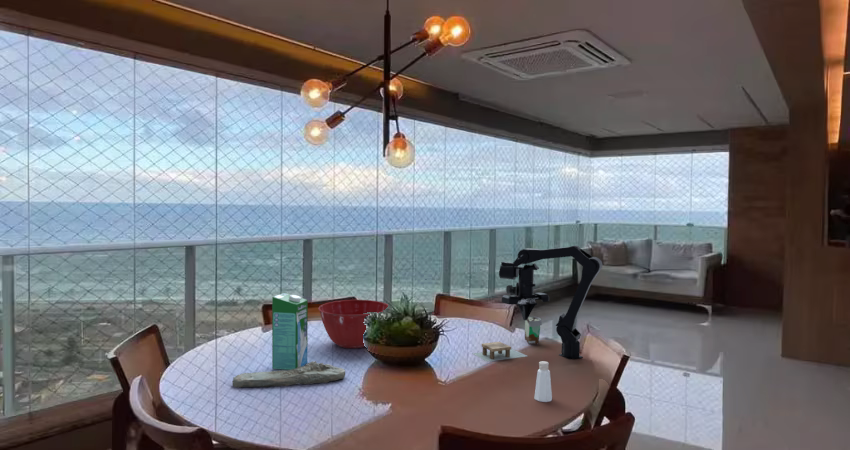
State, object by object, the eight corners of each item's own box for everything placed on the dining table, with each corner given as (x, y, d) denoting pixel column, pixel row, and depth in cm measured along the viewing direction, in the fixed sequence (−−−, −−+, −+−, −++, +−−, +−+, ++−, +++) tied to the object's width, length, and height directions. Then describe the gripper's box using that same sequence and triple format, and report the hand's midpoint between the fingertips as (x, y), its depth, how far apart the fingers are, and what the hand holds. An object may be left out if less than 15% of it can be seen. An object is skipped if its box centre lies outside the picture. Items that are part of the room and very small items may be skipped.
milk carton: (296, 370, 182) (296, 297, 180) (272, 368, 183) (272, 296, 182) (307, 362, 190) (307, 293, 189) (284, 361, 192) (284, 292, 191)
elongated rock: (234, 384, 172) (231, 397, 162) (233, 368, 171) (230, 380, 162) (344, 371, 180) (347, 383, 171) (343, 356, 180) (346, 367, 170)
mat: (528, 357, 201) (528, 356, 201) (486, 362, 193) (486, 361, 193) (511, 349, 211) (511, 348, 211) (471, 354, 203) (471, 353, 203)
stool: (511, 346, 199) (492, 349, 195) (511, 357, 199) (492, 359, 196) (499, 341, 206) (481, 343, 203) (499, 351, 206) (481, 354, 203)
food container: (544, 346, 216) (544, 321, 216) (529, 346, 217) (529, 321, 216) (538, 338, 229) (539, 315, 228) (524, 338, 229) (524, 315, 228)
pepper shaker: (539, 394, 162) (539, 358, 162) (555, 398, 159) (556, 361, 159) (530, 399, 158) (531, 362, 158) (547, 403, 155) (548, 366, 154)
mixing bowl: (384, 355, 201) (384, 314, 201) (309, 352, 203) (309, 312, 202) (393, 336, 229) (393, 300, 229) (327, 334, 231) (328, 299, 231)
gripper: (533, 276, 220) (532, 314, 221) (494, 278, 212) (493, 317, 213) (550, 280, 210) (549, 320, 210) (510, 283, 202) (509, 323, 203)
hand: (525, 320), depth 209 cm, fingers closed
